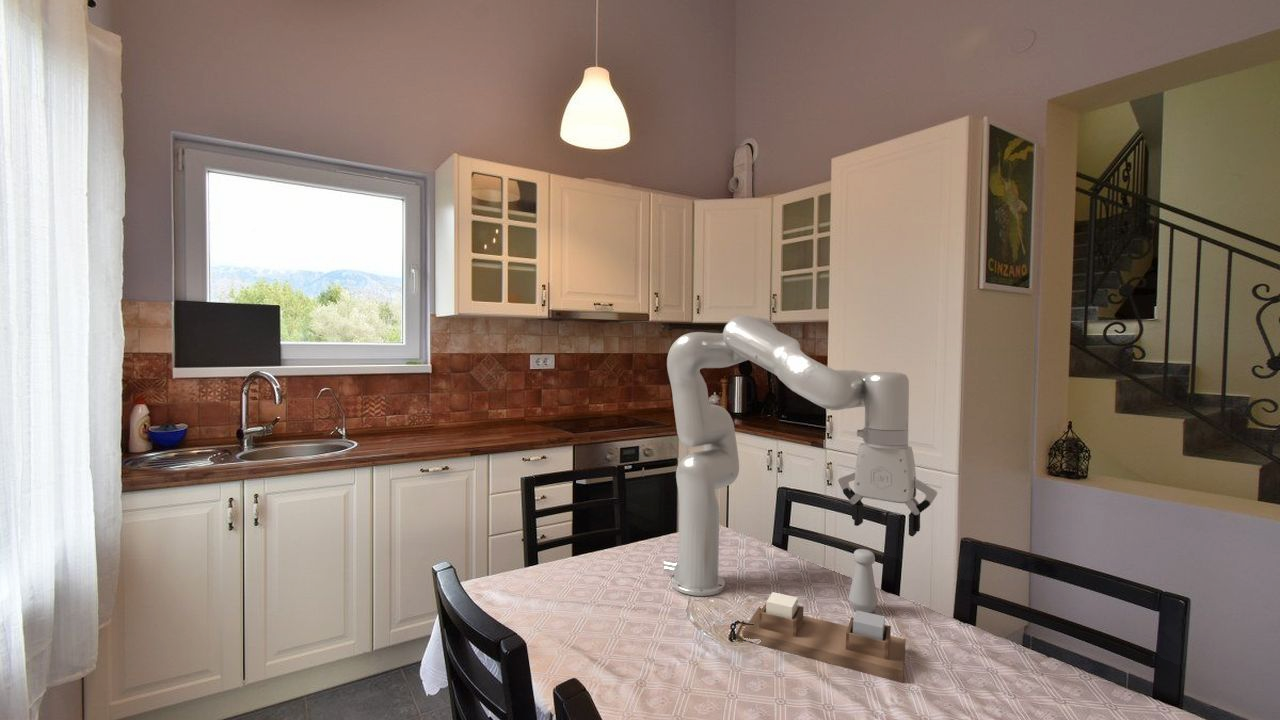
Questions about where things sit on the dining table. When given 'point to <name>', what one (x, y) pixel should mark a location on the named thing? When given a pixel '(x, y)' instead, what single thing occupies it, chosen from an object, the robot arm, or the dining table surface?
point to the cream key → (782, 605)
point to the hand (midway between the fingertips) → (884, 529)
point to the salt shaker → (863, 582)
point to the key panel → (829, 643)
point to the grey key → (869, 625)
